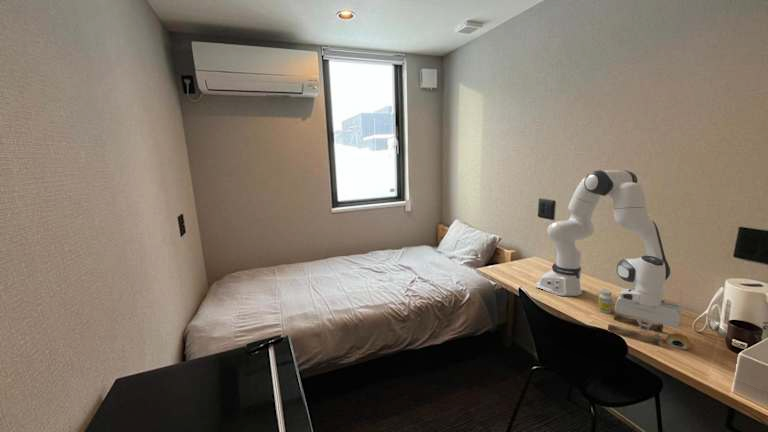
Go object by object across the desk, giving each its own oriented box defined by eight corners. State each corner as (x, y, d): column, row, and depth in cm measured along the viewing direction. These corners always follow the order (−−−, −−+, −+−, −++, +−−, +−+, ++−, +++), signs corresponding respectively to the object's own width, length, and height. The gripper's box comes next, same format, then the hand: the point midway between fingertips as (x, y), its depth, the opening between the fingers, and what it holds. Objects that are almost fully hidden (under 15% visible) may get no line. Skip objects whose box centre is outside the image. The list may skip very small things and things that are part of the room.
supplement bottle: (610, 314, 144) (611, 294, 143) (596, 310, 148) (598, 291, 147) (613, 310, 148) (614, 290, 146) (599, 306, 152) (601, 287, 150)
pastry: (668, 335, 126) (669, 326, 126) (691, 342, 121) (693, 333, 121) (665, 345, 120) (666, 336, 119) (689, 352, 115) (691, 343, 114)
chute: (607, 330, 131) (608, 321, 130) (615, 318, 140) (615, 310, 140) (658, 345, 120) (659, 335, 119) (662, 331, 129) (663, 322, 128)
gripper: (684, 302, 120) (679, 335, 123) (618, 288, 135) (615, 318, 137) (683, 307, 116) (678, 342, 118) (615, 292, 130) (612, 323, 133)
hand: (644, 329), depth 128 cm, fingers closed
